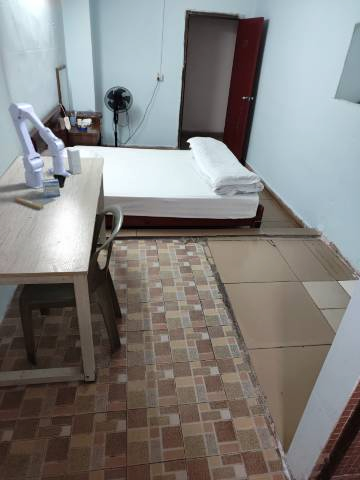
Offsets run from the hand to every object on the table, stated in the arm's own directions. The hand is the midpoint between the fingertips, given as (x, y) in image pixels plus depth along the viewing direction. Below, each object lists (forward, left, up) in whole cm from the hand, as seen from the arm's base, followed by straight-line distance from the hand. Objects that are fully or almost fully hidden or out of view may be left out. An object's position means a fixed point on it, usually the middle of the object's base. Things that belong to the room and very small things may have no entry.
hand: (61, 187), depth 182 cm
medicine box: (0, -7, -3) cm, 7 cm away
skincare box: (-17, +28, -3) cm, 33 cm away
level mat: (0, -16, -3) cm, 17 cm away
